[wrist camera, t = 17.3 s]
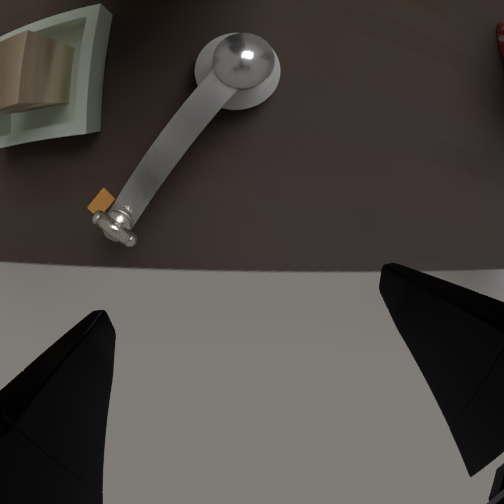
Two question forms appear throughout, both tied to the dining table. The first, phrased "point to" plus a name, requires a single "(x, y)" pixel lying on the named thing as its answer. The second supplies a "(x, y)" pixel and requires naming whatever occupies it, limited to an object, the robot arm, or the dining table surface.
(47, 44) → the stop block
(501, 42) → the mug
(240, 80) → the crank
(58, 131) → the stop tray
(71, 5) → the dining table surface
